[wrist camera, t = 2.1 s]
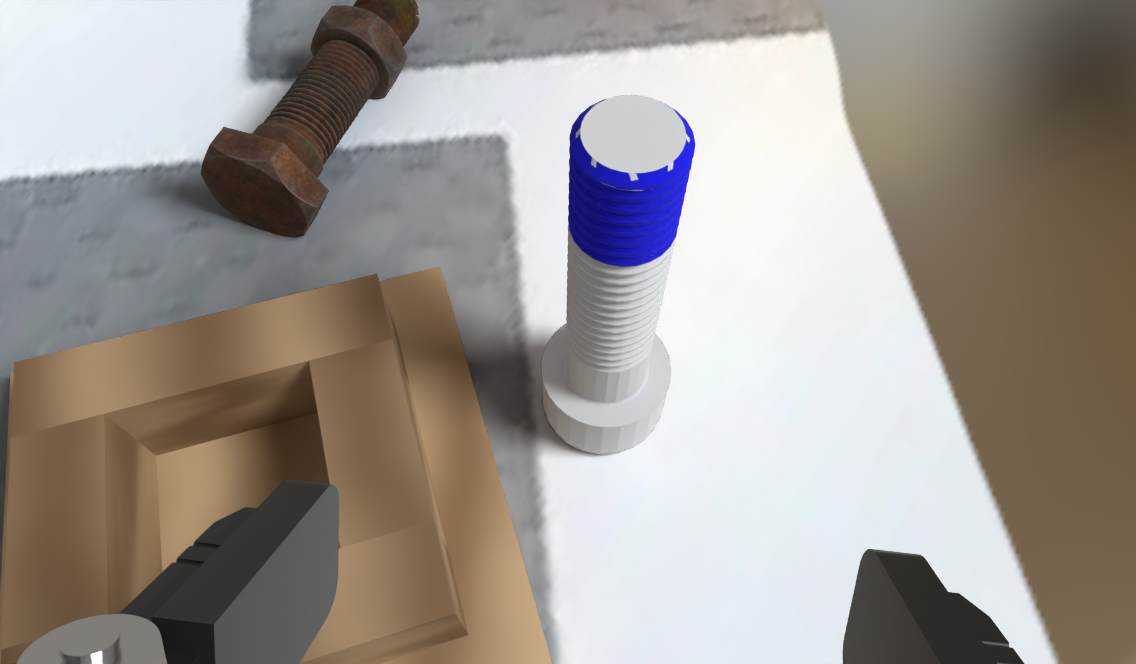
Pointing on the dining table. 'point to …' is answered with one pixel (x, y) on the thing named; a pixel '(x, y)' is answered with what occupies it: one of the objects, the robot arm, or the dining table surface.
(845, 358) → the dining table surface
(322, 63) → the bolt
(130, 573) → the wooden square frame base
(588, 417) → the bolt
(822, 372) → the dining table surface
